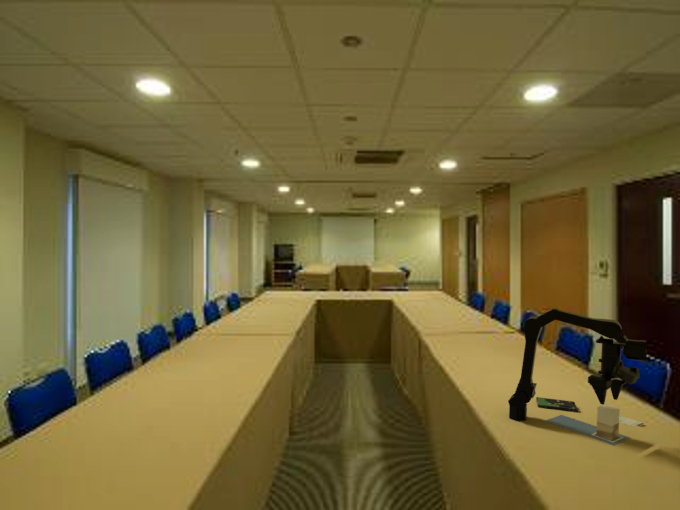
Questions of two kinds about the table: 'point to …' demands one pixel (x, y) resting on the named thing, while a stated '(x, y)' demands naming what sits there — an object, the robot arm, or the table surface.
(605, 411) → the cream cube
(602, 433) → the maple cube
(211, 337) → the table surface
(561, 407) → the disk drive
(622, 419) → the hard drive
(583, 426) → the board
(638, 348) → the robot arm
